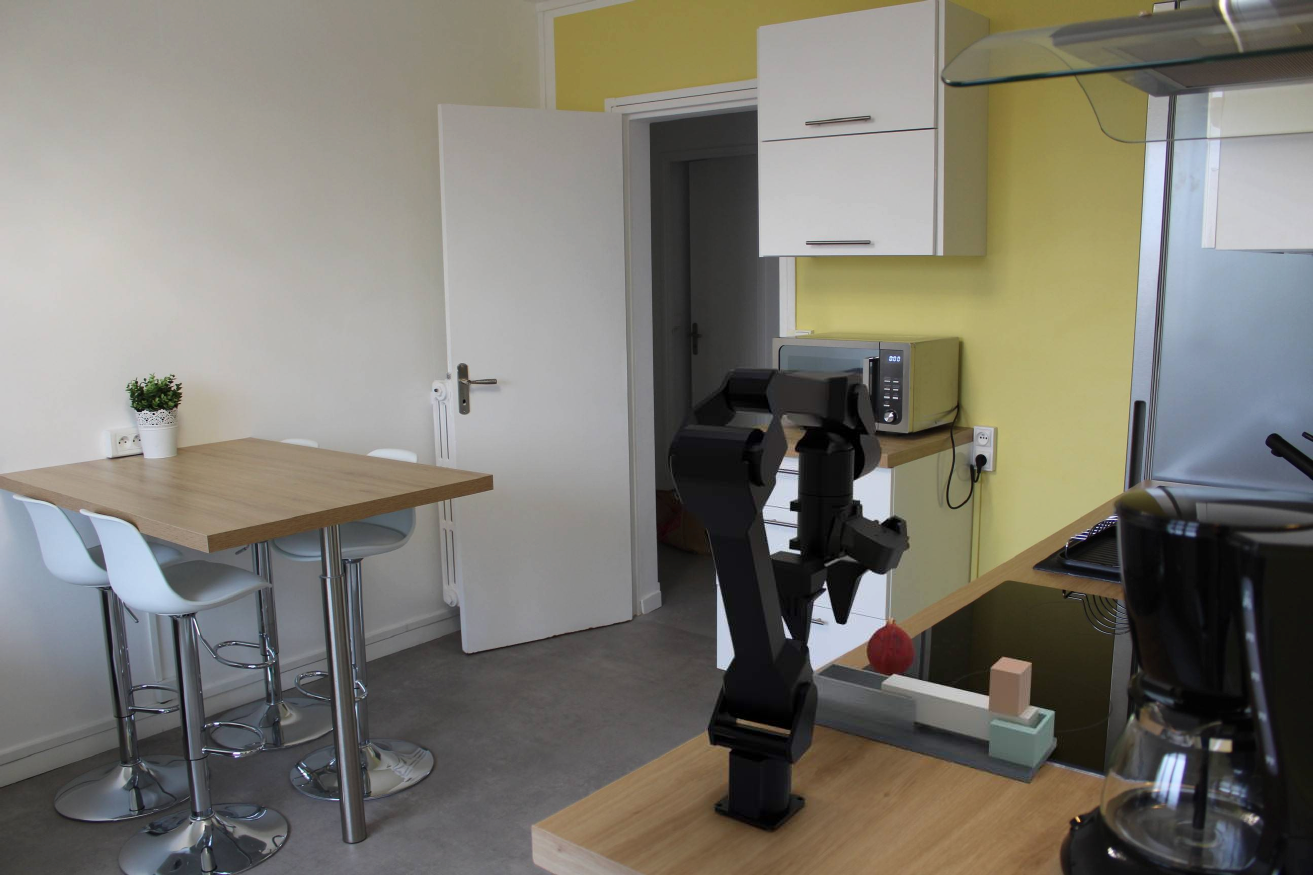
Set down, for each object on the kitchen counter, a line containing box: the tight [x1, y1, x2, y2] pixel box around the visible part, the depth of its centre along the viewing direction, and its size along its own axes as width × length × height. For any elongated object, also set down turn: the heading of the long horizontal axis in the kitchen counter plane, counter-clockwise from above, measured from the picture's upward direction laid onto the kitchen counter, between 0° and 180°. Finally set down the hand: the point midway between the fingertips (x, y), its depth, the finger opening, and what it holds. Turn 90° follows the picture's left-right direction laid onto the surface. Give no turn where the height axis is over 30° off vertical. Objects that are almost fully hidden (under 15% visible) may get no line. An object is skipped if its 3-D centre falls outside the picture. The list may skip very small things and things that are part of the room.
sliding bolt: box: [881, 656, 1039, 740], centre depth 109 cm, size 4×16×8 cm, turn 54°
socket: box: [989, 704, 1056, 768], centre depth 105 cm, size 7×4×4 cm, turn 144°
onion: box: [866, 617, 915, 676], centre depth 126 cm, size 6×6×8 cm
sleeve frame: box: [812, 662, 1058, 784], centre depth 111 cm, size 10×26×4 cm, turn 54°
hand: (821, 635), depth 108 cm, fingers open, 9 cm apart
